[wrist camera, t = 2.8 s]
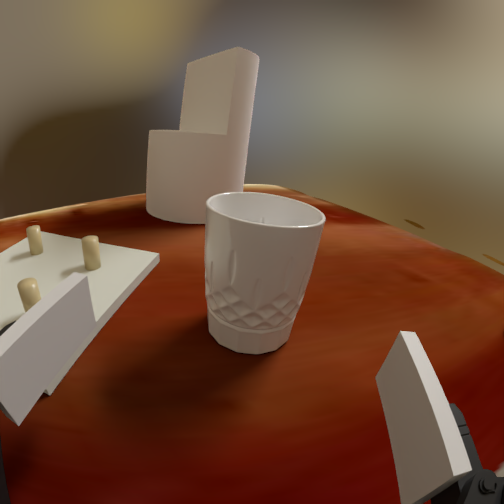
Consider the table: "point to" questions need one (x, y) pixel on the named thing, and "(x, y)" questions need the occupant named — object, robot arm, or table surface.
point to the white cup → (257, 267)
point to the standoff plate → (62, 266)
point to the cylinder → (204, 138)
